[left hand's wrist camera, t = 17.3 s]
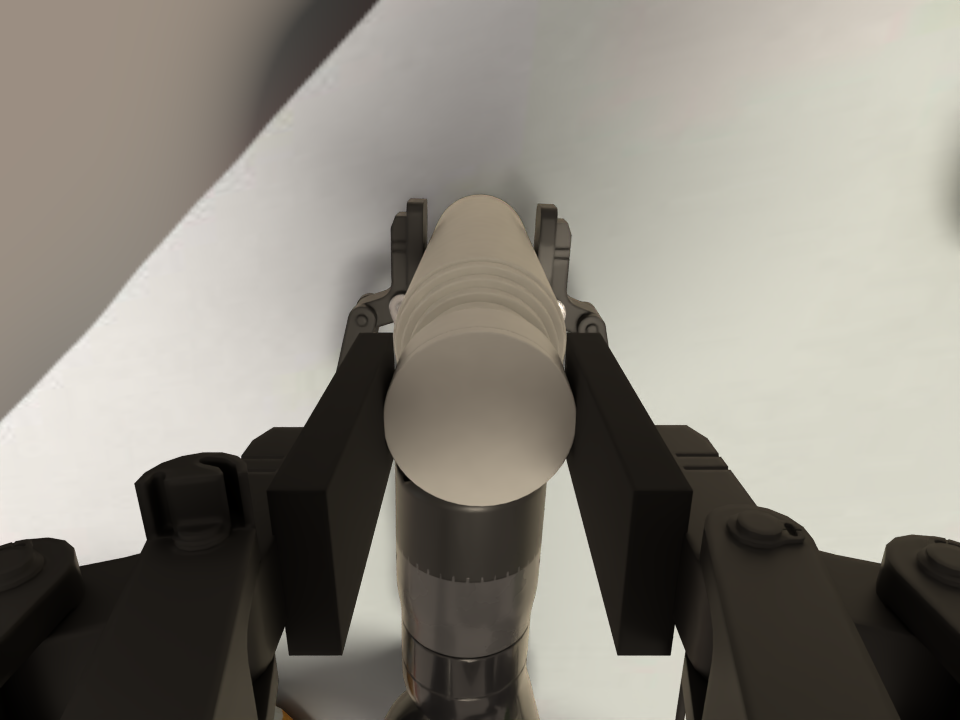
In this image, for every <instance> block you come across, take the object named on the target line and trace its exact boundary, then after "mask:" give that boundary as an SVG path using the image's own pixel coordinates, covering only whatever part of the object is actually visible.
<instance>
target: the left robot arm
mask: <svg viewBox="0 0 960 720" xmlns="http://www.w3.org/2000/svg"><path fill="white" fill-rule="evenodd" d="M394 371H395V366H394V346H393V333H359V334H358V336H357V338H356V339H355V341H354V343H353V344H352V346H351V348H350V349H349V351H348V353H347V355H346V356H345V358H344V360H343V361H342V363H341V365H340V366H339V368H338V370H337V372H336V373H335V375H334V377H333V378H332V380H331V382H330V383H329V385H328V387H327V389H326V390H325V392H324V394H323V395H322V397H321V399H320V400H319V402H318V404H317V405H316V407H315V409H314V411H313V412H312V414H311V416H310V417H309V419H308V421H307V422H306V424H305V426H304V427H273V428H271V429H270V430H268V431H267V432H265V433H264V434H262V435H260V436H259V437H257V438H256V439H254V440H253V441H252V442H251V443H250V445H249V446H248V447H247V449H246V450H245V452H244V453H243V454H242V456H241V458H239V457H238V456H235V455H231V454H227V453H223V452H203V453H197V454H191V455H186V456H181V457H178V458H175V459H172V460H169V461H166V462H163V463H161V464H159V465H157V466H156V467H154V468H152V469H150V470H149V471H147V472H145V473H144V474H143V475H142V476H141V477H140V478H139V479H138V480H137V481H136V482H135V483H134V484H135V489H136V493H137V498H138V502H139V507H140V511H141V516H142V520H143V525H144V529H145V533H146V538H147V541H146V543H145V545H144V547H143V549H142V551H141V553H140V554H136V555H132V556H128V557H124V558H119V559H114V560H109V561H104V562H99V563H94V564H89V565H84V566H79V564H78V560H77V557H76V553H75V549H74V547H72V546H71V545H70V544H69V543H67V542H66V541H65V540H60V539H54V538H37V539H25V540H20V541H15V543H12V542H11V543H8V544H4V545H1V546H0V720H274V715H275V707H276V698H277V690H278V682H279V679H278V672H277V665H276V658H275V651H276V648H277V645H278V643H279V640H280V638H281V635H282V633H283V630H284V628H285V629H286V637H287V644H288V651H289V655H342V654H343V650H344V646H345V642H346V639H347V635H348V631H349V627H350V623H351V619H352V616H353V612H354V608H355V604H356V600H357V596H358V593H359V589H360V585H361V581H362V577H363V573H364V570H365V566H366V562H367V558H368V554H369V550H370V547H371V543H372V539H373V535H374V531H375V527H376V524H377V520H378V516H379V512H380V508H381V504H382V501H383V497H384V493H385V489H386V485H387V481H388V478H389V474H390V470H391V466H392V462H393V456H392V454H391V452H390V450H389V448H388V445H387V442H386V439H385V429H384V402H385V398H386V395H387V391H388V388H389V386H390V383H391V380H392V377H393V374H394ZM565 373H566V376H567V379H568V382H569V384H570V387H571V390H572V393H573V396H574V400H575V405H576V423H575V436H574V441H573V444H572V447H571V449H570V452H569V454H568V456H567V457H566V460H567V464H568V467H569V471H570V475H571V479H572V483H573V487H574V490H575V494H576V498H577V502H578V506H579V510H580V513H581V517H582V521H583V525H584V529H585V533H586V536H587V540H588V544H589V548H590V552H591V556H592V559H593V563H594V567H595V571H596V575H597V579H598V582H599V586H600V590H601V594H602V598H603V602H604V605H605V609H606V613H607V617H608V621H609V625H610V628H611V632H612V636H613V640H614V644H615V648H616V651H617V655H652V656H671V648H672V641H673V634H674V627H675V625H676V628H677V630H678V633H679V636H680V638H681V641H682V643H683V646H684V648H685V658H684V665H683V671H682V678H681V685H680V692H679V698H678V705H677V712H676V719H675V720H684V718H685V713H686V720H960V543H959V542H956V541H953V540H950V539H948V540H946V539H945V538H941V537H936V536H922V535H907V536H901V537H895V538H894V539H893V540H892V541H890V542H889V543H888V544H887V545H886V548H885V551H884V555H883V559H882V562H881V564H880V563H875V562H870V561H865V560H860V559H855V558H850V557H845V556H840V555H835V554H831V553H827V552H823V551H819V550H818V548H817V546H816V544H815V542H814V540H813V538H812V537H811V536H810V535H809V533H808V532H807V531H806V530H805V528H804V527H803V526H801V525H800V524H798V523H797V522H795V521H794V520H792V519H791V518H789V517H788V516H785V515H783V514H780V513H778V512H775V511H773V510H770V509H768V508H763V507H758V506H757V505H756V504H755V503H754V501H753V500H752V499H751V497H750V496H749V494H748V493H747V492H746V490H745V489H744V488H743V486H742V485H741V484H740V482H739V481H738V479H737V478H736V477H735V475H734V474H733V473H732V471H731V470H728V466H727V464H726V463H725V462H724V460H723V459H722V458H721V457H719V454H718V452H717V451H716V449H715V448H714V447H713V445H712V444H711V443H710V441H709V440H708V439H707V438H706V437H704V436H703V435H701V434H700V433H698V432H696V431H695V430H693V429H692V428H690V427H688V426H687V425H654V423H653V421H652V420H651V418H650V416H649V415H648V413H647V411H646V410H645V408H644V406H643V404H642V403H641V401H640V399H639V398H638V396H637V394H636V393H635V391H634V389H633V387H632V386H631V384H630V382H629V381H628V379H627V377H626V376H625V374H624V372H623V370H622V369H621V367H620V365H619V364H618V362H617V360H616V359H615V357H614V355H613V354H612V352H611V350H610V348H609V347H608V345H607V343H606V342H605V340H604V338H603V337H602V335H601V333H567V340H566V359H565Z"/></svg>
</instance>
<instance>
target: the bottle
mask: <svg viewBox="0 0 960 720" xmlns="http://www.w3.org/2000/svg"><path fill="white" fill-rule="evenodd" d="M472 308H489V309H495V310H501V311H505V312H508V313H511V314H514V315H516V316H518V317H521V318H523V319H524V320H526V321H528V322H529V323H531V324H533V325H534V326H535V327H536V328H537V329H539V330H540V331H541V332H542V333H543V334H544V335H545V336H546V337H547V338H548V339H549V340H550V342H551V343H552V345H553V346H554V348H555V349H556V351H557V353H558V355H559V357H560V359H561V362H562V363H563V359H564V354H565V349H566V327H565V322H564V317H563V314H562V312H561V309H560V306H559V304H558V302H557V300H556V297H555V295H554V293H553V291H552V288H551V286H550V284H549V282H548V279H547V277H546V275H545V273H544V271H543V268H542V266H541V264H540V262H539V259H538V257H537V255H536V253H535V250H534V248H533V246H532V244H531V242H530V239H529V237H528V235H527V233H526V230H525V228H524V226H523V224H522V222H521V220H520V218H519V216H518V215H517V213H516V212H515V211H514V209H513V208H512V207H511V206H509V205H508V204H507V203H506V202H504V201H502V200H500V199H498V198H496V197H493V196H489V195H471V196H467V197H464V198H462V199H459V200H458V201H456V202H454V203H453V204H452V205H450V206H449V207H448V208H447V209H446V210H445V212H444V213H443V214H442V216H441V218H440V219H439V221H438V223H437V226H436V228H435V230H434V232H433V235H432V237H431V239H430V241H429V243H428V246H427V248H426V250H425V252H424V255H423V257H422V259H421V261H420V263H419V266H418V268H417V270H416V272H415V275H414V277H413V279H412V281H411V283H410V286H409V288H408V290H407V292H406V295H405V297H404V299H403V301H402V303H401V306H400V308H399V311H398V313H397V317H396V321H395V325H394V335H393V337H394V350H395V356H396V360H397V363H398V361H399V358H400V356H401V354H402V352H403V350H404V349H405V347H406V345H407V344H408V343H409V341H410V340H411V339H412V338H413V337H414V335H415V334H417V333H418V332H419V331H420V330H421V329H422V328H423V327H425V326H426V325H427V324H429V323H430V322H432V321H433V320H435V319H437V318H439V317H441V316H443V315H446V314H449V313H452V312H455V311H459V310H464V309H472Z"/></svg>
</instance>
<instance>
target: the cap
mask: <svg viewBox="0 0 960 720" xmlns="http://www.w3.org/2000/svg"><path fill="white" fill-rule="evenodd" d="M575 423H576V405H575V400H574V396H573V393H572V390H571V387H570V384H569V382H568V379H567V376H566V373H565V370H564V367H563V364H562V362H561V359H560V357H559V355H558V353H557V351H556V349H555V348H554V346H553V345H552V343H551V342H550V340H549V339H548V338H547V337H546V336H545V335H544V334H543V333H542V332H541V331H540V330H539V329H537V328H536V327H535V326H534V325H533V324H531V323H529V322H528V321H526V320H524V319H523V318H521V317H518V316H516V315H514V314H511V313H508V312H505V311H501V310H495V309H489V308H472V309H464V310H459V311H455V312H452V313H449V314H446V315H443V316H441V317H439V318H437V319H435V320H433V321H432V322H430V323H429V324H427V325H426V326H425V327H423V328H422V329H421V330H420V331H419V332H418V333H417V334H415V335H414V337H413V338H412V339H411V340H410V341H409V343H408V344H407V345H406V347H405V349H404V350H403V352H402V354H401V356H400V358H399V361H398V363H397V366H396V369H395V371H394V374H393V377H392V380H391V383H390V386H389V388H388V391H387V395H386V398H385V402H384V429H385V439H386V442H387V445H388V448H389V450H390V452H391V454H392V456H393V458H394V460H395V461H396V463H397V465H398V466H399V468H400V469H401V470H402V471H403V472H404V473H405V475H406V476H407V477H408V478H409V479H410V480H411V481H413V482H414V483H415V484H416V485H417V486H419V487H420V488H422V489H423V490H424V491H426V492H428V493H430V494H432V495H434V496H435V497H438V498H440V499H443V500H445V501H448V502H452V503H456V504H461V505H468V506H492V505H498V504H504V503H508V502H511V501H514V500H517V499H519V498H522V497H524V496H526V495H528V494H530V493H532V492H533V491H535V490H537V489H538V488H540V487H541V486H542V485H543V484H545V483H546V482H547V481H548V480H549V479H550V478H551V477H552V476H553V475H554V474H555V473H556V472H557V471H558V469H559V468H560V467H561V466H562V464H563V463H564V461H565V459H566V457H567V456H568V454H569V452H570V449H571V447H572V444H573V441H574V436H575Z"/></svg>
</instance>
